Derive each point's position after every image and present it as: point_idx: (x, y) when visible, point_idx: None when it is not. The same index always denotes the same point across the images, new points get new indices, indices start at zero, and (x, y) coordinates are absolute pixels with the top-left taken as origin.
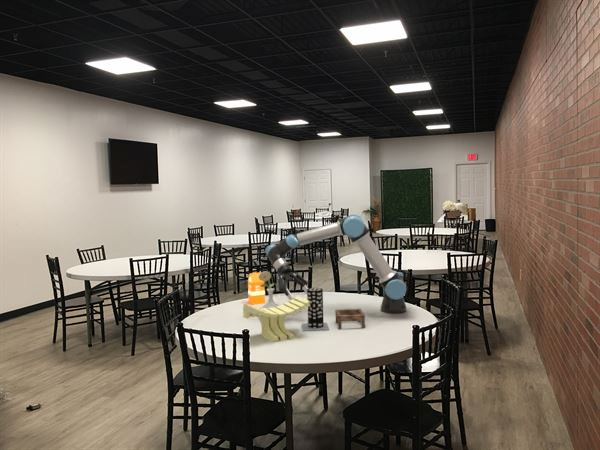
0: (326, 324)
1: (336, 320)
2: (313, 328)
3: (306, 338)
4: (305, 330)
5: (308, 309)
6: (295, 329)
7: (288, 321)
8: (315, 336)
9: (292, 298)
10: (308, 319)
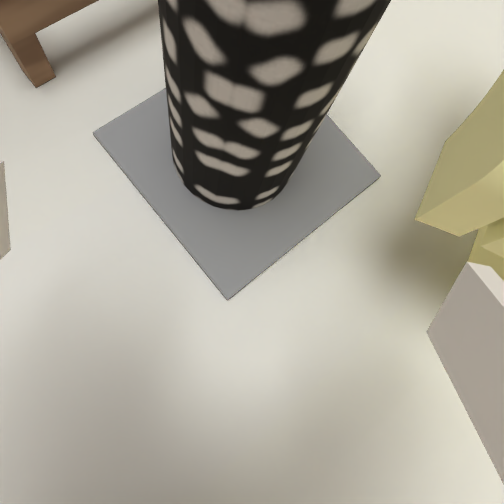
0: (151, 106)
1: (46, 59)
2: None
3: (476, 77)
4: (366, 161)
5: (335, 97)
6: (373, 251)
7: (213, 471)
8: (414, 51)
9: (481, 271)
10: (299, 160)
